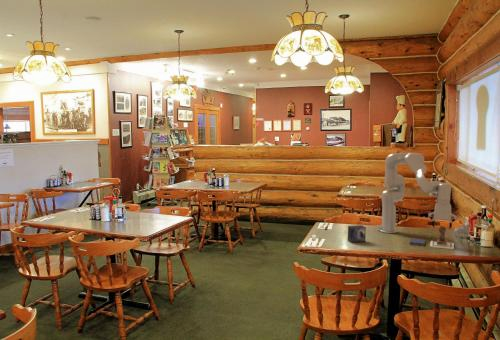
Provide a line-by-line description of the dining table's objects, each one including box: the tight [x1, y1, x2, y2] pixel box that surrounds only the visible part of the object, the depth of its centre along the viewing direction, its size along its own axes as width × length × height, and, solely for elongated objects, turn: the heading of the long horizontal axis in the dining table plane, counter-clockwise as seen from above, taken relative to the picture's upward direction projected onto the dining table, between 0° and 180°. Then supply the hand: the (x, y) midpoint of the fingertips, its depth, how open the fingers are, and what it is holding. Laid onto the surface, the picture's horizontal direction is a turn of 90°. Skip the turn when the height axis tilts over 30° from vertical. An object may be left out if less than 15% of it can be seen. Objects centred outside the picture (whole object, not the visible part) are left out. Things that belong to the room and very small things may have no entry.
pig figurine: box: [454, 221, 470, 239], centre depth 299 cm, size 5×13×11 cm, turn 97°
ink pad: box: [409, 238, 426, 247], centre depth 283 cm, size 9×12×2 cm
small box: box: [347, 224, 367, 244], centre depth 287 cm, size 11×6×10 cm, turn 101°
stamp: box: [436, 226, 448, 246], centre depth 276 cm, size 6×6×12 cm
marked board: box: [429, 240, 455, 250], centre depth 277 cm, size 14×14×1 cm
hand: (441, 227), depth 277 cm, fingers open, 9 cm apart
